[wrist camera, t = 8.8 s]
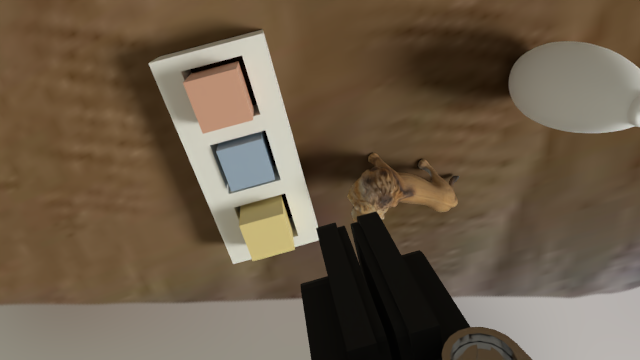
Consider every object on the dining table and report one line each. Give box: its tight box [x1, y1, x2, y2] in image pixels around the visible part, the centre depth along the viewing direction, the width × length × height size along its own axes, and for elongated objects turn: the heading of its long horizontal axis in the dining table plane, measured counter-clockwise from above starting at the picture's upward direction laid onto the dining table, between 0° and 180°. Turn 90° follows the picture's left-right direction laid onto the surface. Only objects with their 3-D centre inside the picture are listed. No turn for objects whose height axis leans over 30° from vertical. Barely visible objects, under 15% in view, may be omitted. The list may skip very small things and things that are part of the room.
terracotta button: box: [183, 61, 254, 134], centre depth 34 cm, size 4×4×4 cm
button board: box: [148, 29, 319, 264], centre depth 39 cm, size 22×10×4 cm, turn 13°
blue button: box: [216, 131, 275, 192], centre depth 39 cm, size 4×4×4 cm
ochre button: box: [239, 195, 295, 261], centre depth 40 cm, size 4×4×4 cm
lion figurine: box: [347, 153, 459, 222], centre depth 41 cm, size 15×5×9 cm, turn 85°
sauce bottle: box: [508, 41, 640, 133], centre depth 34 cm, size 8×8×18 cm
